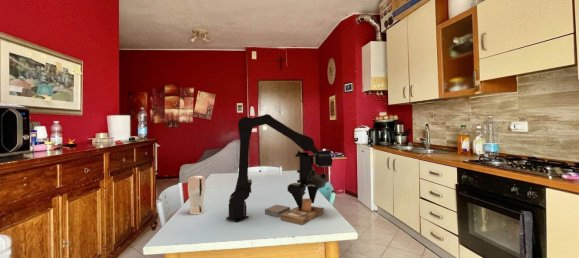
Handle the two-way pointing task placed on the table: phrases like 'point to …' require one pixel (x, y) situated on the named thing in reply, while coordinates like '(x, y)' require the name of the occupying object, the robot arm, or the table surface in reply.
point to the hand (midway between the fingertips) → (306, 205)
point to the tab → (276, 210)
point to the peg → (306, 205)
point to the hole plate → (301, 215)
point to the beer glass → (196, 194)
